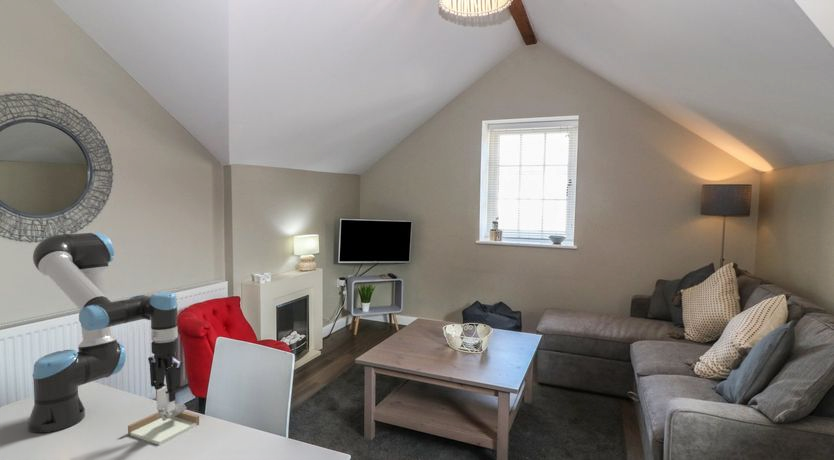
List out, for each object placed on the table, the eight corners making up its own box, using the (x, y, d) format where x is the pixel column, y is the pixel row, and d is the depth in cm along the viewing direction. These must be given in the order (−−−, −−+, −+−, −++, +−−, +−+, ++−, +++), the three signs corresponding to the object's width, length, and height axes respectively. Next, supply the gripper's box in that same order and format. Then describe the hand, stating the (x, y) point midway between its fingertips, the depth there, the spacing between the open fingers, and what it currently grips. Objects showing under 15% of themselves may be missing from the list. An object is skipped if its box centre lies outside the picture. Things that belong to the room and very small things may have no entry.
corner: (128, 434, 144) (127, 425, 144) (169, 415, 158) (168, 407, 157) (159, 445, 138) (159, 435, 138) (199, 424, 151) (199, 415, 151)
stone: (147, 427, 142) (143, 414, 143) (175, 416, 154) (171, 405, 154) (163, 419, 141) (159, 407, 142) (190, 409, 153) (186, 398, 154)
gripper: (136, 339, 144) (138, 409, 145) (171, 346, 137) (173, 419, 138) (158, 333, 151) (159, 399, 152) (192, 339, 144) (193, 409, 145)
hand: (165, 408), depth 145 cm, fingers closed on stone, 4 cm apart
